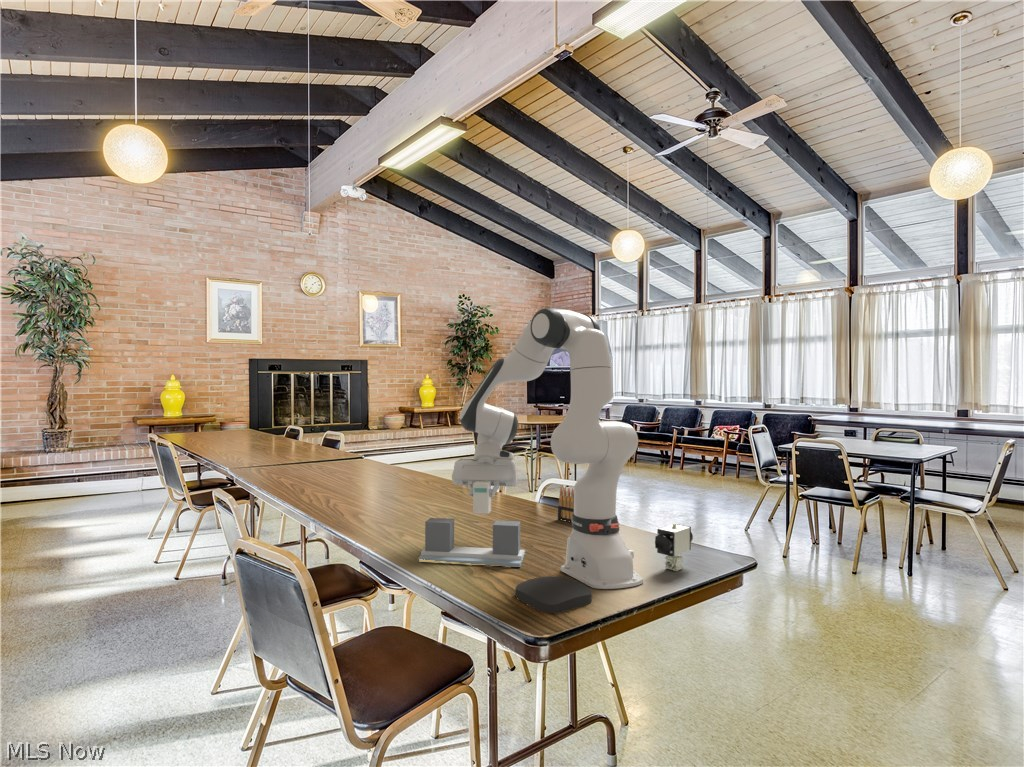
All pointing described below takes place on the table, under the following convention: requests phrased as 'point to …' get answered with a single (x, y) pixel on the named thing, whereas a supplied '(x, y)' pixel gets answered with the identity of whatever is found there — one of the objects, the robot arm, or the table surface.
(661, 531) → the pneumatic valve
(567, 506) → the ammunition clip
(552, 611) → the media streaming box
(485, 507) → the block
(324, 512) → the table surface
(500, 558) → the twin block stand
